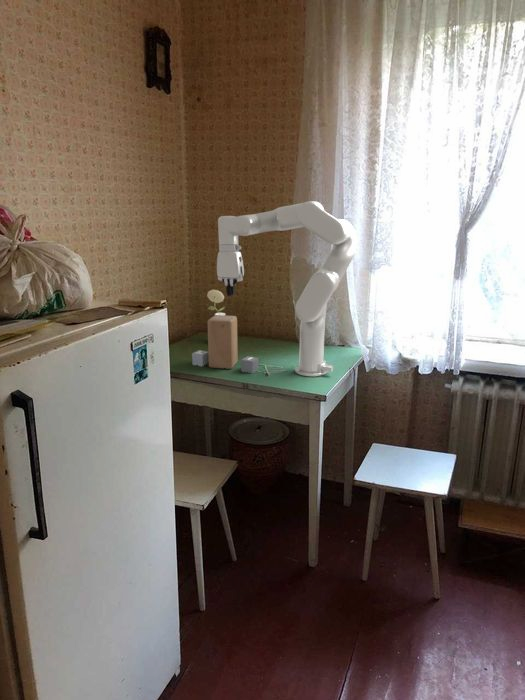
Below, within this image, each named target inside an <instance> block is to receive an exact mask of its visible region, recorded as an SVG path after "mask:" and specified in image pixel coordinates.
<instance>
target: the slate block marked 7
mask: <svg viewBox="0 0 525 700" xmlns="http://www.w3.org/2000/svg"><path fill="white" fill-rule="evenodd" d="M191 357H192V366H196V365H198V366H197V367H202V366H203V367H205V366H207V365H209V364H208V363H209V356H208V351H205V350H199V349H198V350H196V351H193V352H192V353H191ZM206 364H207V365H206ZM204 365H205V366H204Z"/></svg>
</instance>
